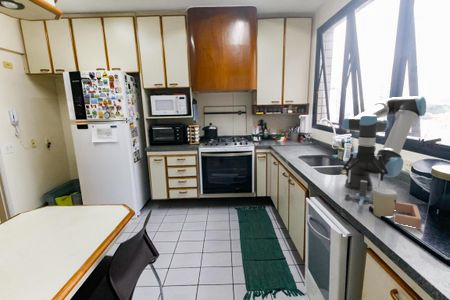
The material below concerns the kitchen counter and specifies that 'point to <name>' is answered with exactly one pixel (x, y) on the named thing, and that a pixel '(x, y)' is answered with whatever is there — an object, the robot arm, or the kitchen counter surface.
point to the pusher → (362, 194)
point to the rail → (358, 199)
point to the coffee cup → (384, 201)
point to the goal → (408, 220)
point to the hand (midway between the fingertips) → (363, 184)
